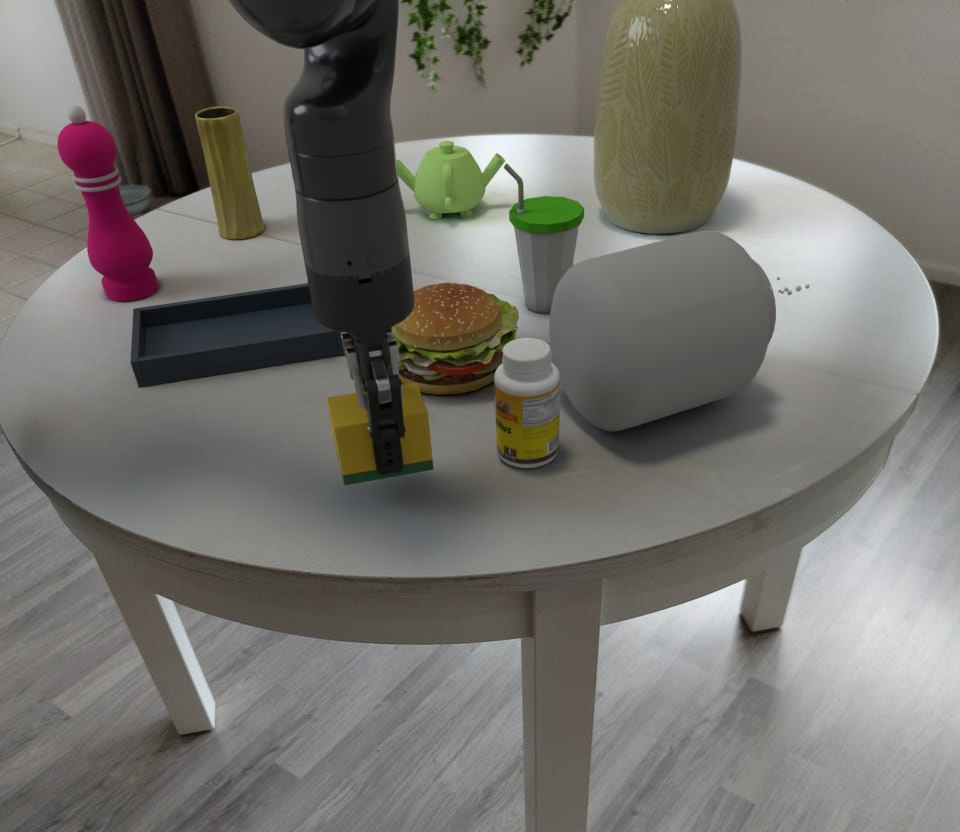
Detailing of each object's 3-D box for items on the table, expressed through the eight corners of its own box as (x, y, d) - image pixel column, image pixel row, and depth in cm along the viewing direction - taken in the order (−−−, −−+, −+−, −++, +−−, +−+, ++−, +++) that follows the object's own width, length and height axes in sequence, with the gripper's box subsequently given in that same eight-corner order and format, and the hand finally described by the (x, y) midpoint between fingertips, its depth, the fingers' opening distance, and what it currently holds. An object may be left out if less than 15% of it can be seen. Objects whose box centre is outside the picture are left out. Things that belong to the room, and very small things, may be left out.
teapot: (450, 233, 121) (445, 163, 115) (390, 213, 126) (383, 145, 121) (509, 207, 126) (507, 138, 120) (449, 188, 132) (444, 123, 126)
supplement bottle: (491, 441, 86) (486, 337, 79) (550, 432, 86) (550, 328, 79) (504, 475, 82) (500, 369, 75) (565, 466, 83) (568, 359, 75)
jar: (522, 314, 93) (754, 239, 95) (568, 457, 94) (796, 380, 96) (555, 247, 74) (843, 154, 76) (613, 426, 76) (895, 331, 77)
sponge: (344, 486, 77) (333, 427, 73) (336, 454, 80) (326, 397, 76) (433, 470, 78) (428, 411, 74) (422, 439, 81) (416, 382, 77)
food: (482, 417, 89) (478, 339, 83) (360, 386, 94) (348, 310, 88) (546, 352, 97) (546, 277, 92) (430, 327, 102) (424, 254, 97)
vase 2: (617, 184, 130) (630, -54, 111) (740, 199, 124) (776, -50, 105) (571, 230, 119) (576, -25, 100) (703, 249, 114) (735, -19, 95)
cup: (593, 297, 106) (599, 155, 95) (558, 326, 101) (561, 180, 91) (534, 283, 109) (533, 144, 98) (498, 311, 104) (493, 168, 94)
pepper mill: (104, 281, 115) (43, 100, 101) (164, 274, 116) (112, 93, 102) (98, 307, 110) (33, 119, 96) (161, 299, 111) (105, 112, 96)
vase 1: (210, 238, 123) (181, 118, 113) (232, 220, 127) (206, 103, 117) (252, 241, 122) (226, 121, 112) (273, 223, 126) (250, 105, 116)
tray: (138, 387, 96) (130, 362, 94) (140, 332, 105) (133, 308, 103) (346, 354, 99) (343, 329, 97) (332, 303, 108) (328, 279, 106)
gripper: (293, 219, 71) (329, 417, 83) (314, 299, 61) (352, 511, 73) (391, 206, 72) (413, 403, 84) (427, 282, 62) (446, 493, 74)
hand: (384, 452), depth 78 cm, fingers closed on sponge, 4 cm apart
